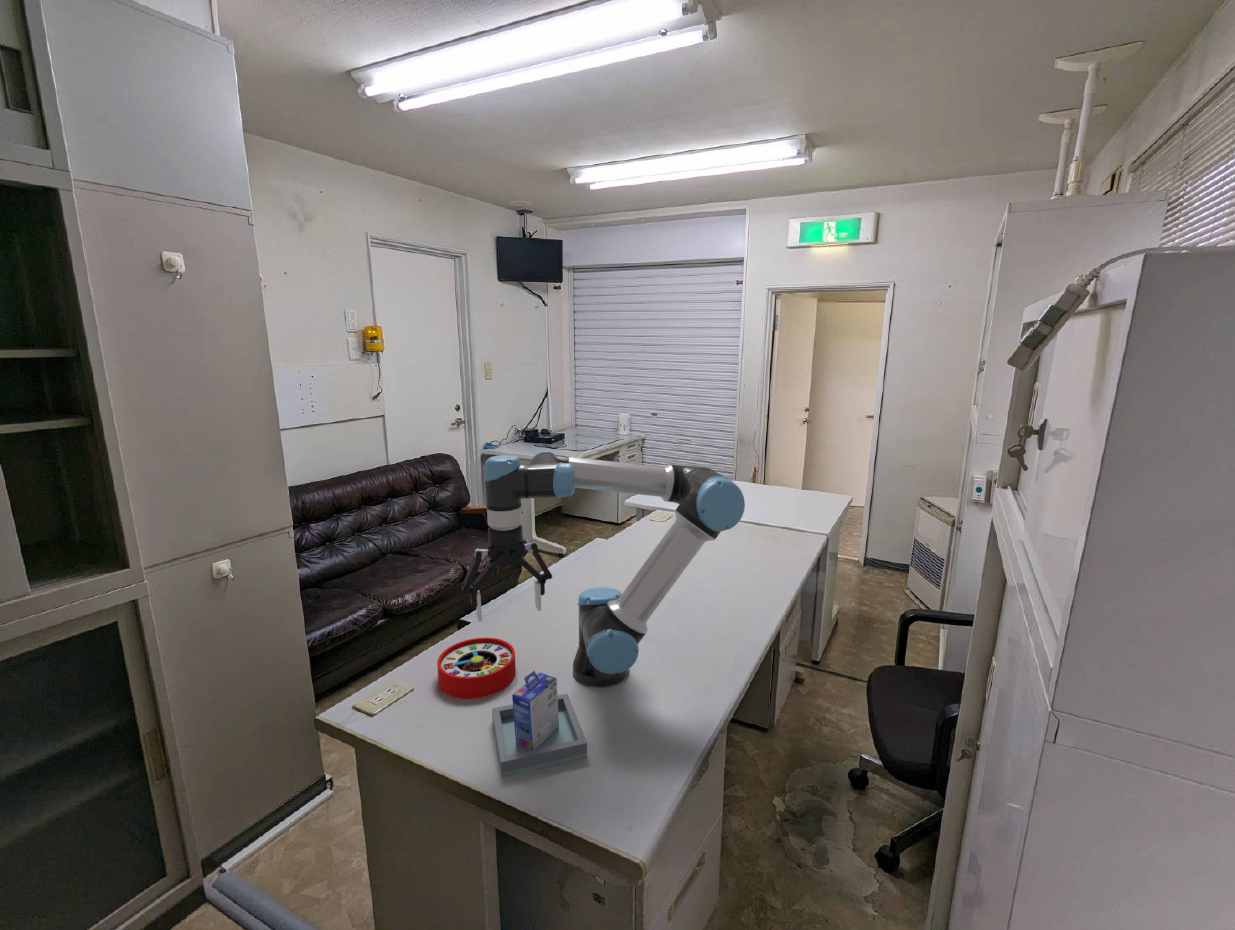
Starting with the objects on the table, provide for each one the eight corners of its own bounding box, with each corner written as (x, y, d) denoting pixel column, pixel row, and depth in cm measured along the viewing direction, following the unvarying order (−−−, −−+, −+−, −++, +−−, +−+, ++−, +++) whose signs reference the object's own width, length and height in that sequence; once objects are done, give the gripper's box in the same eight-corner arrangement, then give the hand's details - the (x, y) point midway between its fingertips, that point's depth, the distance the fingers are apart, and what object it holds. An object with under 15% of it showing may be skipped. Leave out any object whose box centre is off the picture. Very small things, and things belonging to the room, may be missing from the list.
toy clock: (522, 668, 139) (440, 685, 132) (523, 688, 141) (442, 707, 133) (507, 632, 157) (434, 645, 150) (507, 650, 159) (435, 665, 151)
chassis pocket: (567, 706, 133) (567, 693, 132) (587, 757, 116) (587, 742, 116) (492, 721, 127) (491, 708, 127) (501, 777, 111) (501, 762, 110)
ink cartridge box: (540, 718, 127) (538, 661, 124) (560, 725, 125) (558, 668, 122) (513, 744, 119) (510, 684, 116) (533, 753, 116) (531, 692, 113)
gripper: (554, 514, 129) (557, 597, 134) (445, 527, 120) (451, 616, 124) (563, 523, 123) (566, 610, 127) (448, 537, 113) (455, 631, 118)
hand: (509, 613), depth 126 cm, fingers open, 13 cm apart
